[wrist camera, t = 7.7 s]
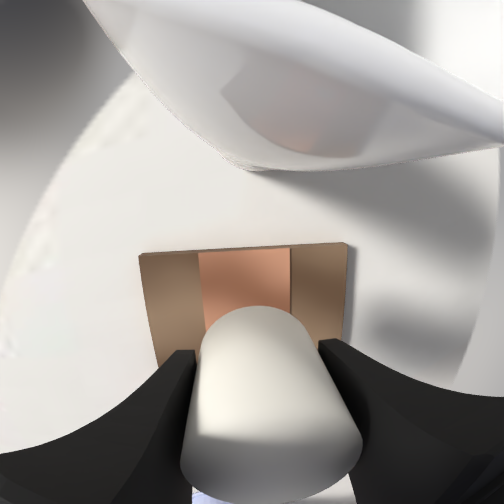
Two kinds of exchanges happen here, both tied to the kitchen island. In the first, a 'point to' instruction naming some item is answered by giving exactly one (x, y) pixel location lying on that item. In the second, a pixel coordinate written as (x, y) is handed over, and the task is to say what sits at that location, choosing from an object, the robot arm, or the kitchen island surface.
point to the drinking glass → (320, 76)
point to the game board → (241, 289)
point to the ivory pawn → (265, 413)
